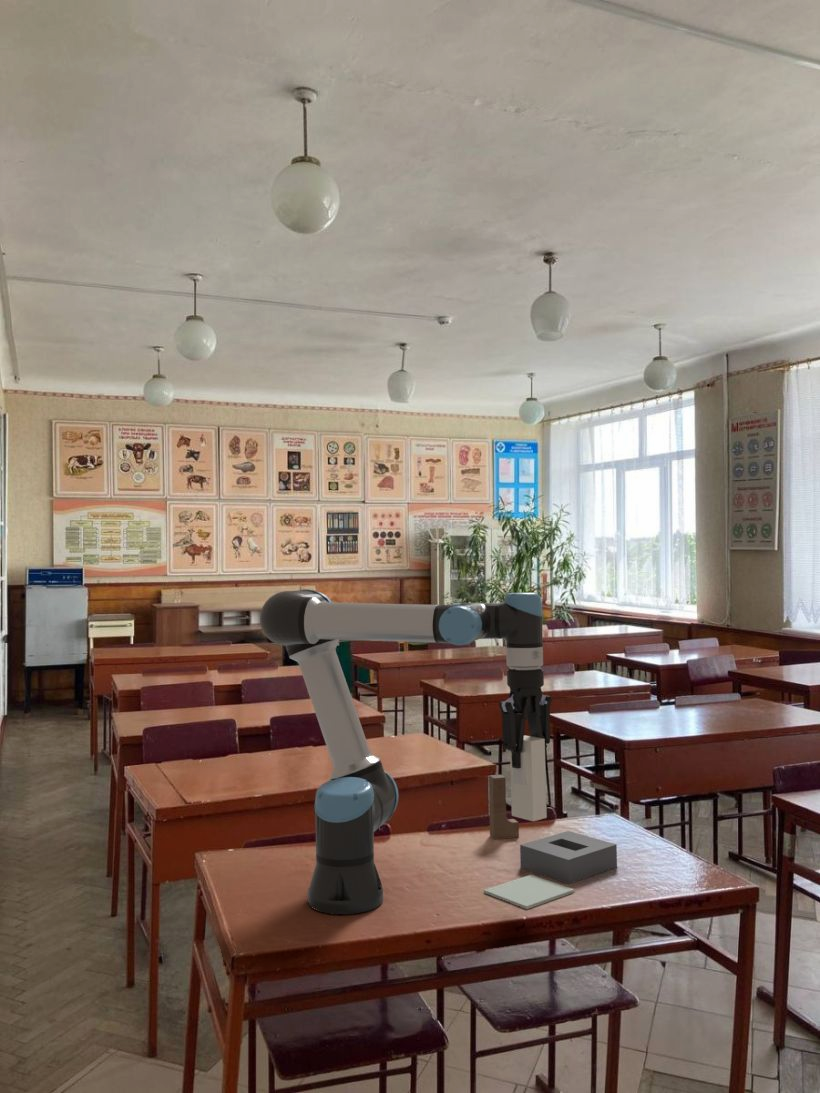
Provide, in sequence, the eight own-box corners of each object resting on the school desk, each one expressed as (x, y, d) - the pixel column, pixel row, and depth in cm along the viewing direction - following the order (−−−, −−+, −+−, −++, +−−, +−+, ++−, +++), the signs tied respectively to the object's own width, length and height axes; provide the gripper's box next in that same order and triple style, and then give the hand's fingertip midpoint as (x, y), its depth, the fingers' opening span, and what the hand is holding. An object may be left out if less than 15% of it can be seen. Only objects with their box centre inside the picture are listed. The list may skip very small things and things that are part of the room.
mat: (526, 909, 175) (526, 906, 175) (483, 892, 184) (483, 889, 184) (574, 892, 183) (574, 889, 183) (531, 877, 193) (531, 874, 193)
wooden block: (494, 839, 220) (493, 778, 221) (489, 836, 224) (488, 775, 224) (519, 837, 222) (518, 776, 223) (514, 833, 225) (512, 773, 226)
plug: (533, 821, 180) (531, 741, 181) (511, 815, 185) (509, 737, 186) (546, 817, 183) (544, 738, 184) (525, 812, 188) (523, 735, 188)
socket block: (569, 883, 188) (568, 859, 189) (520, 867, 199) (520, 844, 199) (617, 867, 199) (616, 844, 199) (568, 852, 209) (568, 830, 210)
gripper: (508, 672, 177) (511, 792, 176) (566, 665, 188) (569, 778, 187) (482, 669, 183) (485, 785, 182) (539, 663, 193) (542, 772, 193)
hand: (528, 781), depth 184 cm, fingers closed on plug, 4 cm apart
